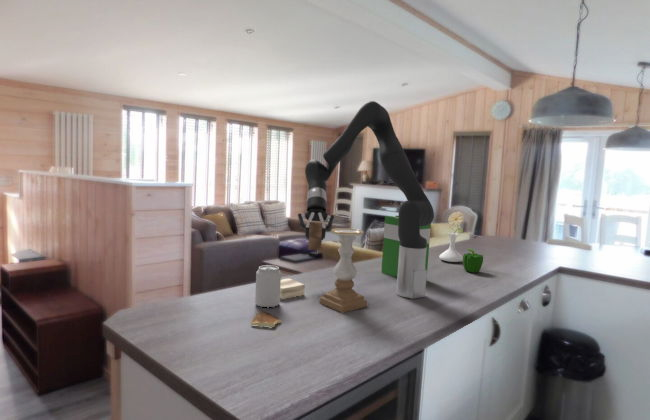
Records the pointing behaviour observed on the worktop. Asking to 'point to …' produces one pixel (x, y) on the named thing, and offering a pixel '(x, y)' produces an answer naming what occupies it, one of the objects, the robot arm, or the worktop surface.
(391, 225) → the green and white box
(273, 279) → the can
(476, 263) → the bell pepper
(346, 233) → the candle holder
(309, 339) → the worktop surface
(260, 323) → the sandwich
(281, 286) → the birch block
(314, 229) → the walnut pillar
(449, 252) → the flower in vase
